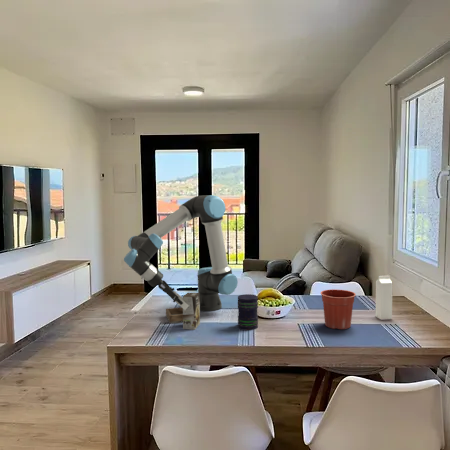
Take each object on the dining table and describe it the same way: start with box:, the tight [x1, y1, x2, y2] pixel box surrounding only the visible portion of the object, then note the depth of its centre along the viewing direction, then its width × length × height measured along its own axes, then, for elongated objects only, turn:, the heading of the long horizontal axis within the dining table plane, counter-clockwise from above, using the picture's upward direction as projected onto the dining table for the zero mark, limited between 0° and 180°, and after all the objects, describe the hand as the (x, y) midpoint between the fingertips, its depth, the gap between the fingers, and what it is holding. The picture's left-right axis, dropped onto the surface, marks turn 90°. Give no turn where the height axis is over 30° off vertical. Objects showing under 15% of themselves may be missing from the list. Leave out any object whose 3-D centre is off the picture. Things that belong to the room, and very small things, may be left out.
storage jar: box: [237, 293, 259, 331], centre depth 203 cm, size 10×10×15 cm
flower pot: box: [320, 288, 357, 330], centre depth 203 cm, size 16×16×16 cm
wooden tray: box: [165, 306, 183, 325], centre depth 218 cm, size 13×14×4 cm
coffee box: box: [182, 292, 201, 331], centre depth 204 cm, size 9×6×16 cm
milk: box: [375, 274, 393, 321], centre depth 214 cm, size 6×6×22 cm
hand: (184, 304), depth 203 cm, fingers open, 13 cm apart
